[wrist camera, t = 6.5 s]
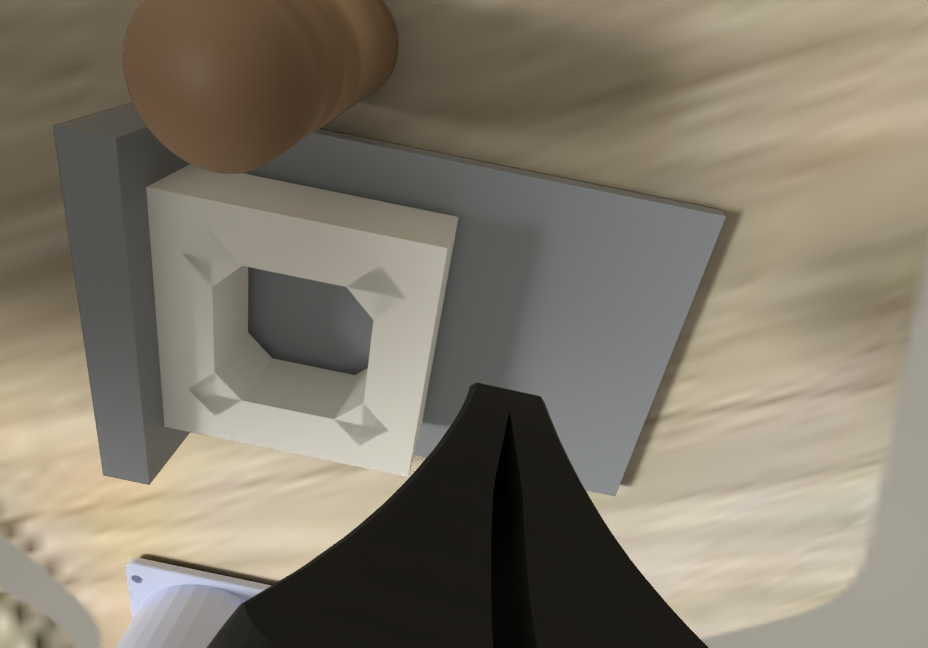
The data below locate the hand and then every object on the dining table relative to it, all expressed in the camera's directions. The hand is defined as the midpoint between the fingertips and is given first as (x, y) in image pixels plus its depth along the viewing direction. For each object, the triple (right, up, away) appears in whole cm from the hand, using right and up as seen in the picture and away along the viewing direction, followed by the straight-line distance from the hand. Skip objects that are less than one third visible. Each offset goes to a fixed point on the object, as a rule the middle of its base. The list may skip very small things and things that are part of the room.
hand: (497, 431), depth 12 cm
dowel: (-4, +10, +6) cm, 12 cm away
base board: (-2, +2, +9) cm, 10 cm away
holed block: (-5, +3, +9) cm, 10 cm away
